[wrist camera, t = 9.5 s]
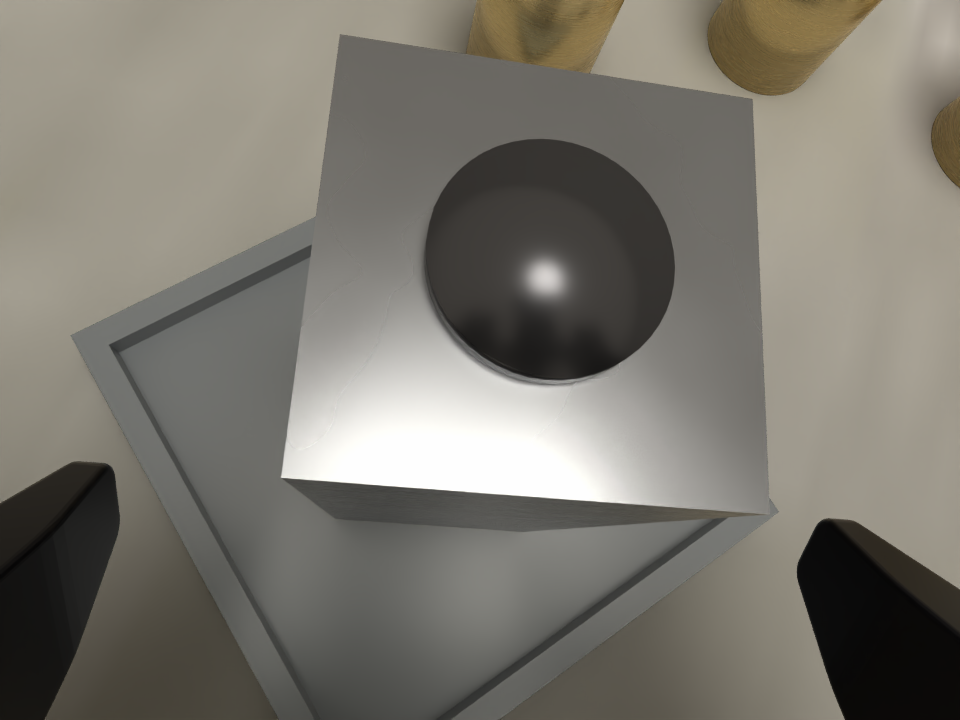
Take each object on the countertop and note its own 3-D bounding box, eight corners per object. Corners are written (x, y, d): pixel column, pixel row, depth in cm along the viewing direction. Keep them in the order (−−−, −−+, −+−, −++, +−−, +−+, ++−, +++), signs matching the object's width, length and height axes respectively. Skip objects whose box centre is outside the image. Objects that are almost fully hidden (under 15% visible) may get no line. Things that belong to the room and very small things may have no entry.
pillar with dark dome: (523, 531, 17) (788, 514, 6) (334, 519, 17) (277, 474, 6) (531, 353, 18) (767, 82, 8) (355, 335, 18) (338, 13, 7)
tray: (344, 814, 16) (342, 836, 14) (90, 349, 17) (70, 335, 16) (753, 513, 19) (778, 511, 18) (506, 143, 20) (515, 119, 19)
